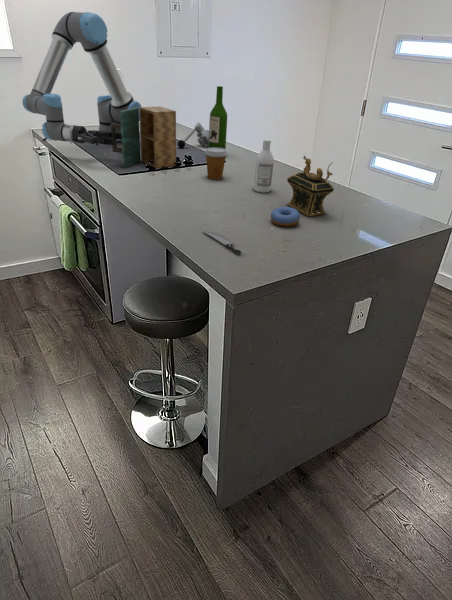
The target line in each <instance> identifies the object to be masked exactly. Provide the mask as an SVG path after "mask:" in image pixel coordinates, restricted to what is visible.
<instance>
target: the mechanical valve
mask: <svg viewBox="0 0 452 600" xmlns="http://www.w3.org/2000/svg"><path fill="white" fill-rule="evenodd" d="M195 132H197V133H196V137H198V138H197V142H198V144H199V145H200V146H201V147H205V146H208V147H209V129H205V128H204V126H203V125H202V123H200V122H197V123H195V125H194V128H193V129H192V130H191V131H190V132H189V133H188V134H187V135H186V136H185V138H183V139H180V140H178V141H177V147H178V148H179V149H184V148H185V146H186V142H187V141H188V140H189V139H190V137H192V136H193V135H194V133H195Z"/></svg>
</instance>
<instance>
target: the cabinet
mask: <svg viewBox="0 0 452 600" xmlns="http://www.w3.org/2000/svg"><path fill="white" fill-rule="evenodd" d="M139 119H140V121H139V134H140V156H141V161H140V162H141V163H144V164H146V165H148V166H150V167H153V168H154V169H160V168H169V167H176V166H177V111H176V110H174V109H170V108H168V107H164V106H161V105H159V106H142V107H139ZM149 161H153V162H154V163H149ZM174 163H176V164H174ZM152 164H153V165H152ZM154 165H155V166H154Z"/></svg>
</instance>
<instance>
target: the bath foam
mask: <svg viewBox="0 0 452 600" xmlns="http://www.w3.org/2000/svg"><path fill="white" fill-rule="evenodd" d="M271 141H272V140H271V139H266V138H264V139H263V140H262V149H261V150H260V152H259V153H258V155H257V157H256V161H255V172H254V179H253V182H254V183H253V190H254V191H255V192H257V193H263V194H265V193H270V191H271V189H272V180H273V170H274V156H273V153H272V151H271V144H272V143H271Z"/></svg>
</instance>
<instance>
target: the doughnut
mask: <svg viewBox="0 0 452 600" xmlns="http://www.w3.org/2000/svg"><path fill="white" fill-rule="evenodd" d="M300 214H301V213H300V211H298V210H296V209H294V208H292V207H290V206H279V207H276V208H274V209H273V210H272V212H271V213H270V220H271V222H272V223H273V224H275V225H277V226H280V227H292V226H295V225H296V224H298V223H299V221H300V220H301V215H300Z"/></svg>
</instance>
